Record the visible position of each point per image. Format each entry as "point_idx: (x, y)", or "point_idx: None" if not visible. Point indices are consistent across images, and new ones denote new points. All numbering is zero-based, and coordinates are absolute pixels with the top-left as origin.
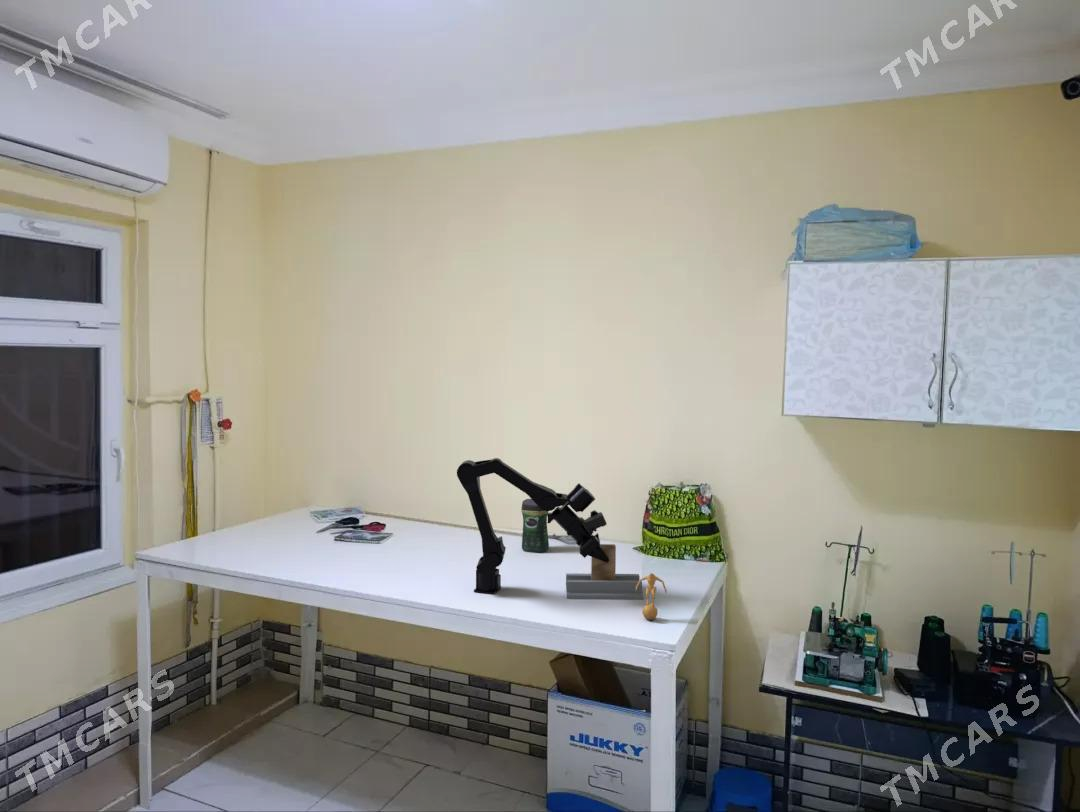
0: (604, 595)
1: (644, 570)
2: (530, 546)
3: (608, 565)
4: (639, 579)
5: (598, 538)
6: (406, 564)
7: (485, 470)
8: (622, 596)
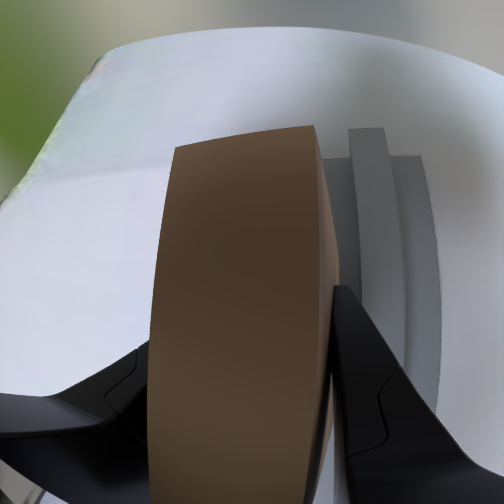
0: (439, 337)
1: (96, 167)
2: None
3: None
4: None
5: (45, 436)
6: None
7: None
8: (434, 246)
